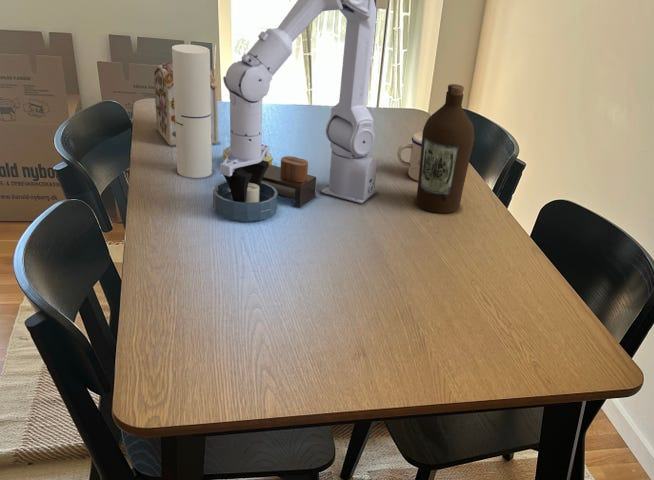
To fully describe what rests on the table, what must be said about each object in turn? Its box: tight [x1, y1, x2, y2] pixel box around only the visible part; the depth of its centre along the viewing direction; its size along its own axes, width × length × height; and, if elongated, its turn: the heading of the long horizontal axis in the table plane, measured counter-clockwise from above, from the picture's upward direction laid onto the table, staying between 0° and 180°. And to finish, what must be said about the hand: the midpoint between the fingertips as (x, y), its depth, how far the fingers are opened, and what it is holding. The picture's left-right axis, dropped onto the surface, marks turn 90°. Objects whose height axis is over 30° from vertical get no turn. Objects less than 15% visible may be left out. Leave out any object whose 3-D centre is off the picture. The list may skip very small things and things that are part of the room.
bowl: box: [212, 180, 279, 222], centre depth 147 cm, size 12×12×4 cm
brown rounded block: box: [280, 155, 309, 182], centre depth 152 cm, size 6×4×4 cm
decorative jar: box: [153, 61, 219, 147], centre depth 173 cm, size 12×12×18 cm
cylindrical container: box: [171, 43, 213, 179], centre depth 154 cm, size 7×7×25 cm
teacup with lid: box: [396, 131, 423, 182], centre depth 172 cm, size 12×9×12 cm
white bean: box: [231, 183, 260, 203], centre depth 146 cm, size 6×4×4 cm
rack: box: [261, 164, 317, 209], centre depth 155 cm, size 16×7×4 cm, turn 69°
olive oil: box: [415, 83, 475, 214], centre depth 155 cm, size 11×11×25 cm
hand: (245, 200), depth 147 cm, fingers closed on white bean, 4 cm apart
